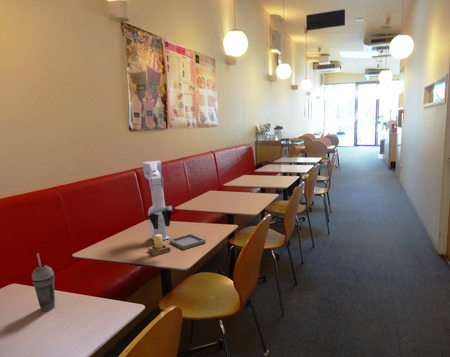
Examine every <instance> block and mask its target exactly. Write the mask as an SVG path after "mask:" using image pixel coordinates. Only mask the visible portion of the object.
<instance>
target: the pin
mask: <svg viewBox="0 0 450 357" xmlns="http://www.w3.org/2000/svg"><path fill="white" fill-rule="evenodd" d="M163 241H164V240H162V235H161V234H156V235H154V240H153V243H154V245H153V246H155V250H159V249H162V248H163V244H164V242H163Z"/></svg>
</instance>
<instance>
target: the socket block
mask: <svg viewBox="0 0 450 357" xmlns="http://www.w3.org/2000/svg"><path fill="white" fill-rule="evenodd" d="M147 251H148V252H149V253H151V254H152V255H154V256H159V255H162V254H165V253H169V252H171V247H170V246H169V245H167V244H165V243H163V248H162V249H159V250H155V245H152V246H148V247H147Z"/></svg>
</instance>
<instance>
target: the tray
mask: <svg viewBox="0 0 450 357" xmlns="http://www.w3.org/2000/svg"><path fill="white" fill-rule="evenodd" d="M169 243H170V244H172V245H174V247H177V248H178V249H181V250H186V249H190V248H193V247H197V246H201V245H203V244H206V239H205V238H202V237H200V236H198V235H196V234H193V233H189V234H188V233H187V234H185V235H181V236H178V237H174V238H169Z"/></svg>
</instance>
